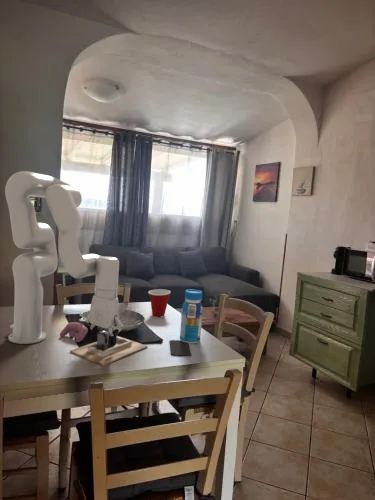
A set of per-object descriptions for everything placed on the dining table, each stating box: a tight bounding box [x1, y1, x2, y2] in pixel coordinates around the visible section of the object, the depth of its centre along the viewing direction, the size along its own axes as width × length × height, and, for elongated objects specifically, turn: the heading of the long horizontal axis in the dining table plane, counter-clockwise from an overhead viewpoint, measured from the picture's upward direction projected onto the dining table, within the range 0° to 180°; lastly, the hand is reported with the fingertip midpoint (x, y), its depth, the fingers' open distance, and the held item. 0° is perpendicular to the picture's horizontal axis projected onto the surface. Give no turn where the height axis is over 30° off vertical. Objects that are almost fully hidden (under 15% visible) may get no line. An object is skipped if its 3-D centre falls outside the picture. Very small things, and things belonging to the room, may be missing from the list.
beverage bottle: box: [179, 288, 204, 344], centre depth 147 cm, size 8×8×20 cm
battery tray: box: [69, 335, 148, 367], centre depth 132 cm, size 16×22×2 cm
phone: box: [168, 339, 192, 357], centre depth 139 cm, size 7×1×15 cm
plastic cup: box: [148, 288, 171, 318], centre depth 179 cm, size 11×11×12 cm
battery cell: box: [96, 330, 110, 351], centre depth 128 cm, size 4×4×7 cm
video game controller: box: [59, 321, 89, 343], centre depth 140 cm, size 10×5×7 cm, turn 61°
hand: (103, 342), depth 128 cm, fingers open, 7 cm apart
